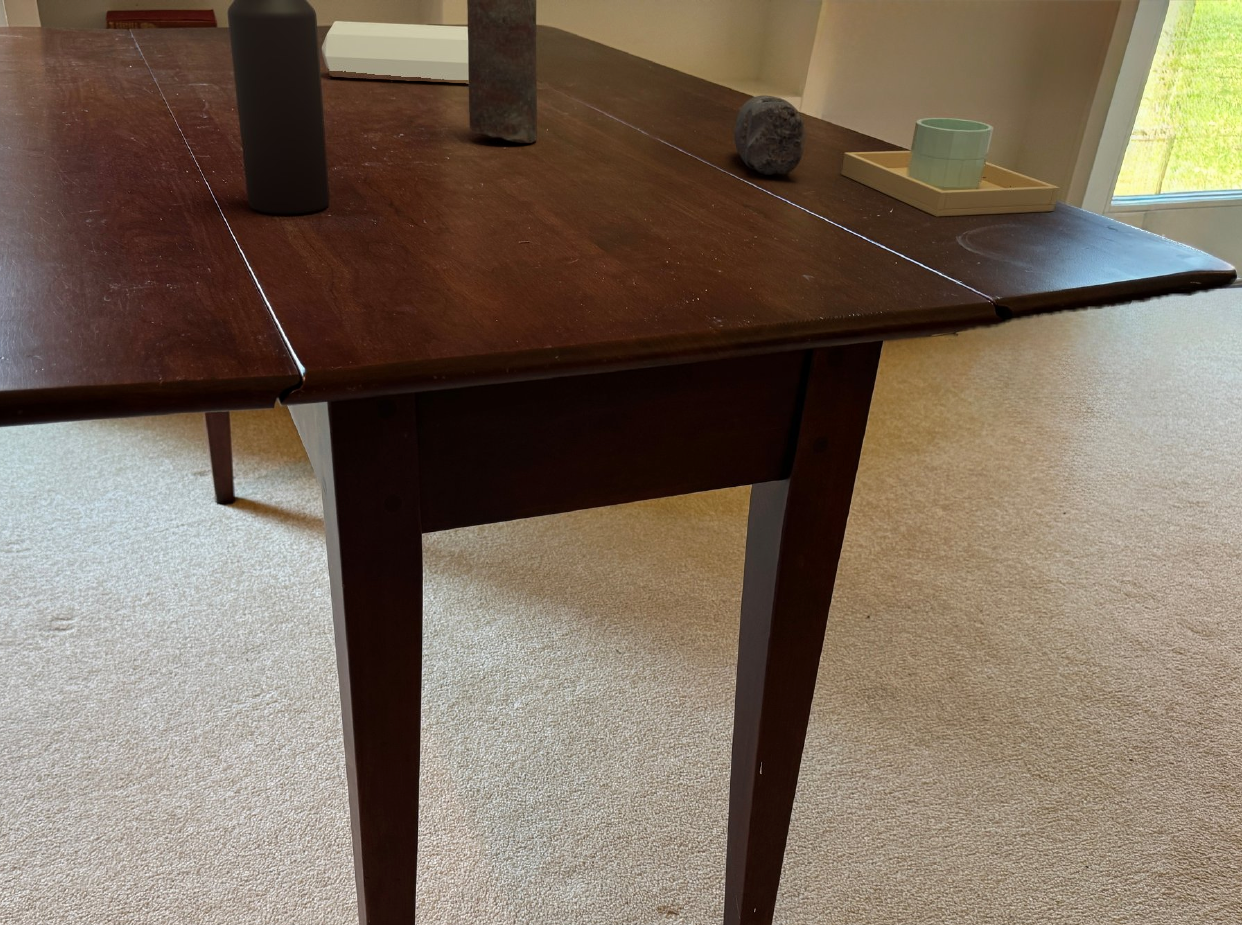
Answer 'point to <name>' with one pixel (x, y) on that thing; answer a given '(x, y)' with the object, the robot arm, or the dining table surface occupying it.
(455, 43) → the white chamfered bar
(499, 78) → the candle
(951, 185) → the mint green planter pot
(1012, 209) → the serving tray
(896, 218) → the dining table surface
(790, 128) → the perforated stone tool
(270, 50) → the bottle
